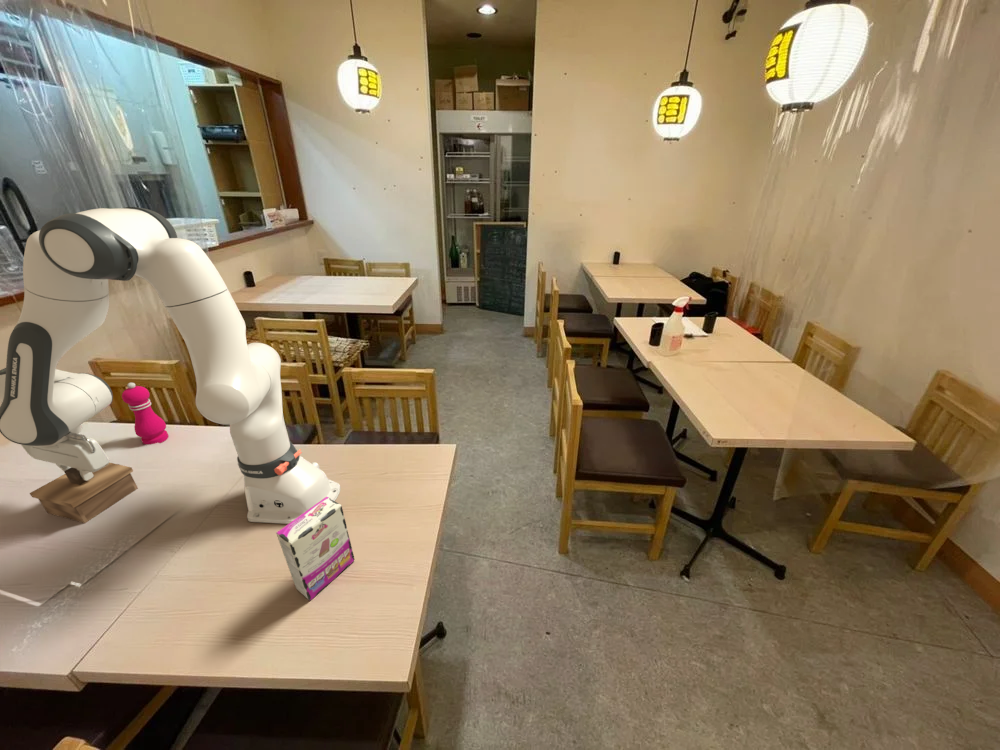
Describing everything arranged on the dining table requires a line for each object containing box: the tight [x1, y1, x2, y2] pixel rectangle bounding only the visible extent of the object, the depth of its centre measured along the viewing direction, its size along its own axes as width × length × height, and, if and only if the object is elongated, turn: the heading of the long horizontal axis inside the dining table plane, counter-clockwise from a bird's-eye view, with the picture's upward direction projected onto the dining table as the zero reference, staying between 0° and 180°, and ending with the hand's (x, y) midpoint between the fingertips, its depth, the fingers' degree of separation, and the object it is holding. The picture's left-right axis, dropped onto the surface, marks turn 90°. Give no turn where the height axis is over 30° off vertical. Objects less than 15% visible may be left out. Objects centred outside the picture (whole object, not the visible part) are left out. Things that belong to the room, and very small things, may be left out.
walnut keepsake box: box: [38, 473, 139, 524], centre depth 98 cm, size 12×12×6 cm
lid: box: [29, 461, 134, 508], centre depth 96 cm, size 13×13×5 cm
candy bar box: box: [275, 496, 356, 602], centre depth 79 cm, size 11×5×16 cm, turn 148°
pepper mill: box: [121, 382, 169, 446], centre depth 118 cm, size 7×7×20 cm
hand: (81, 476), depth 96 cm, fingers closed on lid, 3 cm apart
